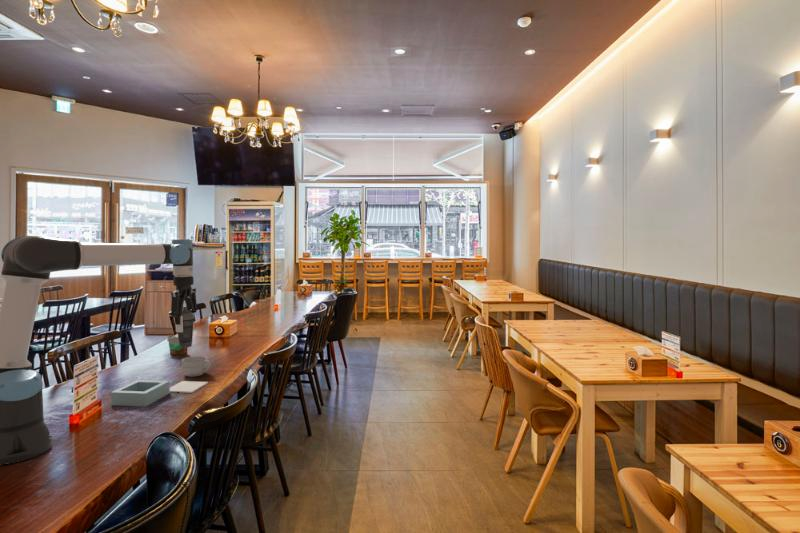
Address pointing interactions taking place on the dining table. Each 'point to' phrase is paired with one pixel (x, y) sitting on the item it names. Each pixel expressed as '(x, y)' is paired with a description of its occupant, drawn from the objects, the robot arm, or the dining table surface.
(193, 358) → the teacup
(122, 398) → the grey square tray
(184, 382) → the grey mat
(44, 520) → the dining table surface
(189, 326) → the beverage cup
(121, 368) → the dining table surface
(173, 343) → the food container
